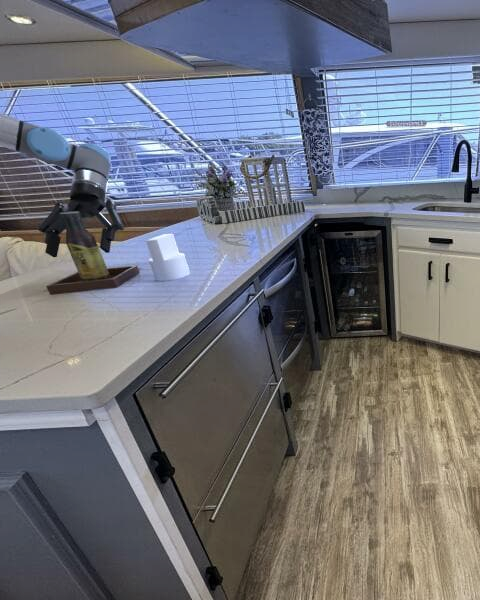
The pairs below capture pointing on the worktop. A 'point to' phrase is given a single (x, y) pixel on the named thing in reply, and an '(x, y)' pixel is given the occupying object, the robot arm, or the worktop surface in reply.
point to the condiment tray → (76, 283)
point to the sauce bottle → (84, 248)
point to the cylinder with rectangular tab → (166, 258)
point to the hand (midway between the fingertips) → (78, 252)
